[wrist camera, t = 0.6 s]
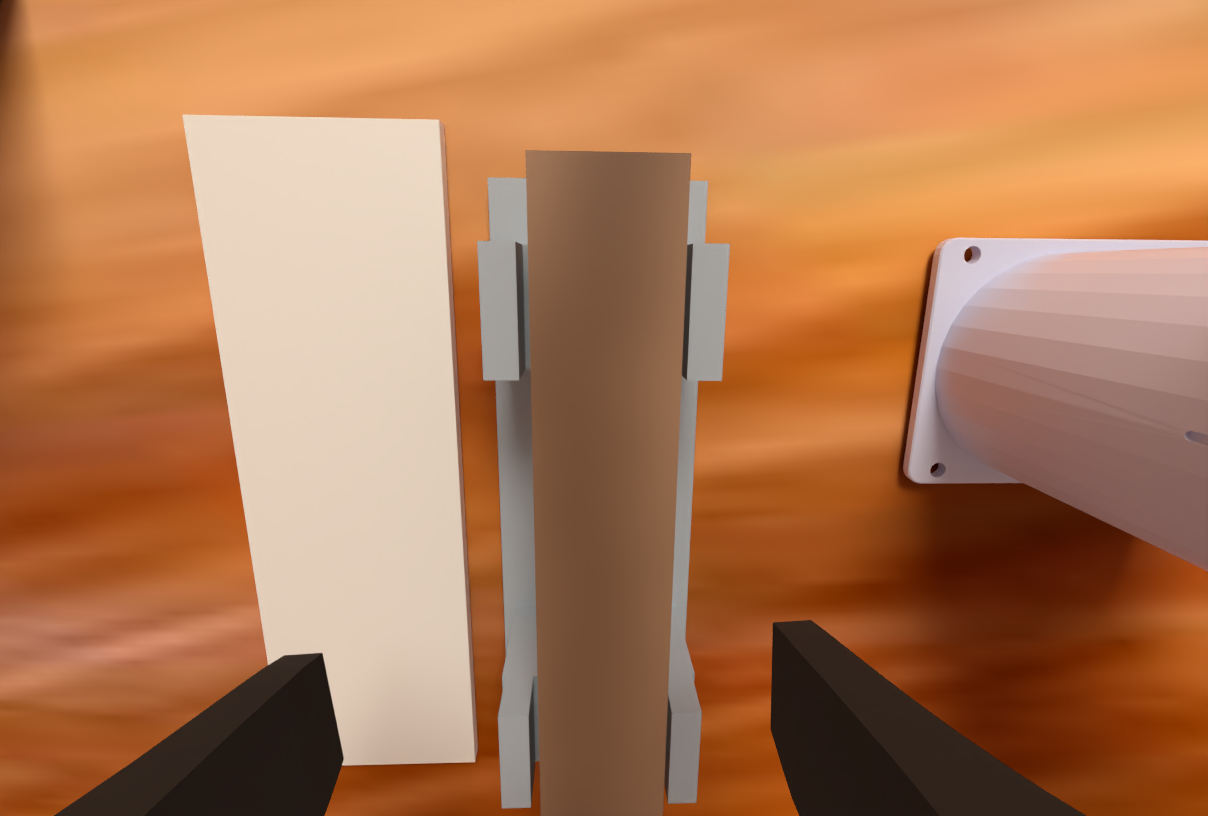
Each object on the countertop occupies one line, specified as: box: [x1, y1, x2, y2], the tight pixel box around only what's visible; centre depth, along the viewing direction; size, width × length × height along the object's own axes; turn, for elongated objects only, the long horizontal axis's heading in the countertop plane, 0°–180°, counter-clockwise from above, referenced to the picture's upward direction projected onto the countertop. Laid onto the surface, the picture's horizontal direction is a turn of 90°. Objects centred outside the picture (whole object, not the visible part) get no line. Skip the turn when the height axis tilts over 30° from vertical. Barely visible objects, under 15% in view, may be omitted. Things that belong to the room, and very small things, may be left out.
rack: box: [477, 178, 730, 808], centre depth 16 cm, size 6×19×6 cm, turn 179°
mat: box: [183, 115, 478, 765], centre depth 18 cm, size 7×22×1 cm, turn 179°
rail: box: [526, 150, 691, 816], centre depth 14 cm, size 3×18×3 cm, turn 179°
